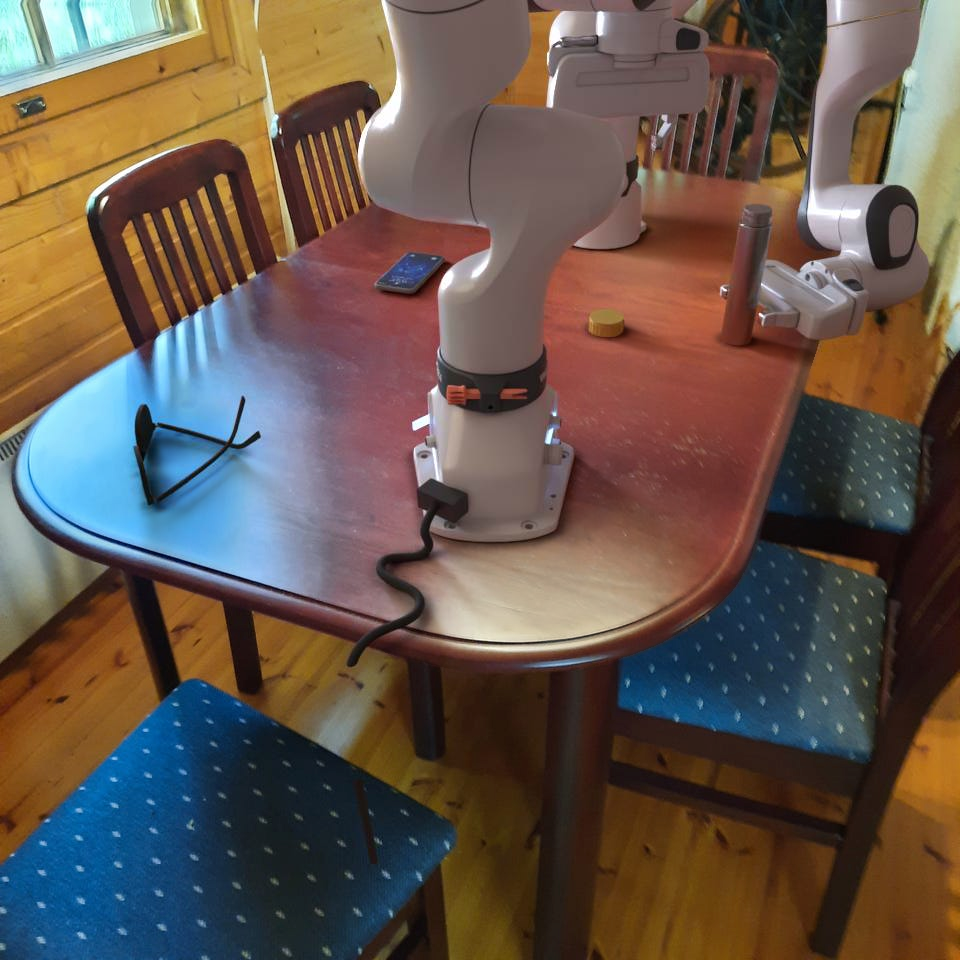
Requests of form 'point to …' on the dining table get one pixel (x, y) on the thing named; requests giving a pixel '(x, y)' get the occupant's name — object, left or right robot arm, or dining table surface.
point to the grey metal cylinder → (746, 274)
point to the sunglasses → (147, 427)
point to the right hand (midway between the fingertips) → (741, 306)
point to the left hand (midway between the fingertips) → (622, 152)
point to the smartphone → (409, 272)
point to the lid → (606, 323)
